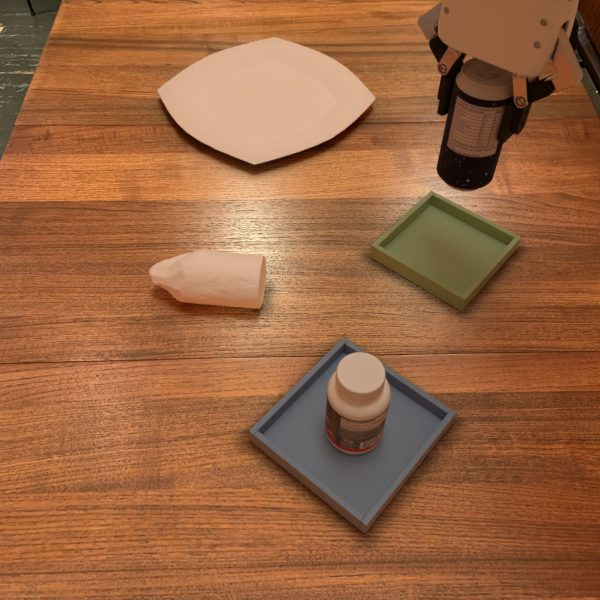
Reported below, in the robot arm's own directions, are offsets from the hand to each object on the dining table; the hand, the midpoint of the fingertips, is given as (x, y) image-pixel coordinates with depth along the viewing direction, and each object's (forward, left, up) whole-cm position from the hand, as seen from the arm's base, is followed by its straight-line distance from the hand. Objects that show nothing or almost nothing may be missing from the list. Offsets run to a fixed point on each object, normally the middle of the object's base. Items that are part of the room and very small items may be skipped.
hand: (477, 120), depth 61 cm
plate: (+35, -8, -18) cm, 40 cm away
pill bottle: (-6, +25, -18) cm, 31 cm away
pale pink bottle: (+16, +22, -18) cm, 33 cm away
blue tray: (-6, +25, -18) cm, 31 cm away
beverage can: (0, 0, -7) cm, 7 cm away
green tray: (0, 0, -18) cm, 18 cm away
